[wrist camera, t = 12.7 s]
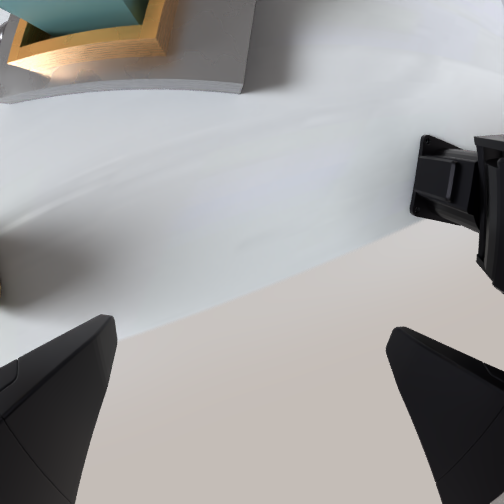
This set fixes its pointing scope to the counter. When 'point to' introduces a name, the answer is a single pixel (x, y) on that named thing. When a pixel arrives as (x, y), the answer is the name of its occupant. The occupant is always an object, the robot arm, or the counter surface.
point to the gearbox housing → (131, 53)
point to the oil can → (77, 14)
